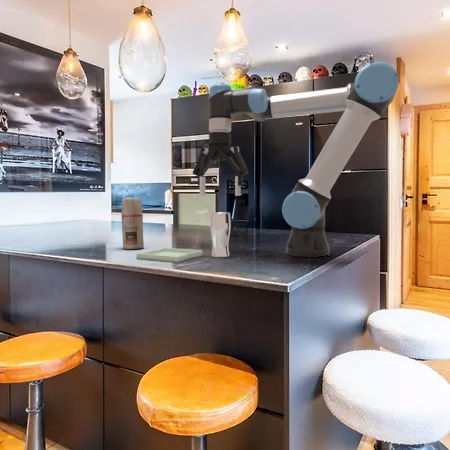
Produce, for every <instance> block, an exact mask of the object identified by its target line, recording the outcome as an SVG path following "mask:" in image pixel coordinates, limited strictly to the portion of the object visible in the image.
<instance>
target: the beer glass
mask: <svg viewBox="0 0 450 450" xmlns="http://www.w3.org/2000/svg"><path fill="white" fill-rule="evenodd" d="M209 223H210V225H209V227H210V233H211V234H210V235H211V241H212V252H211V257H213V258H227V257H230V251H229V240H230V235H231V225H232V224H231V223H232V222H231V213H230V212H227V211H224V212H223V211H220V212H219V211H218V212H216V211H214V212H210V222H209Z"/></svg>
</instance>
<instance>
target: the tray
mask: <svg viewBox="0 0 450 450" xmlns="http://www.w3.org/2000/svg"><path fill="white" fill-rule="evenodd" d="M203 254H204V253H203V250H201V249H190V248H189V249H186V248H174V247H161V248H156V249H151V250H148V251H142V252H138V253H136V260H144V261H153V262H166V263H176V264H178V263H181V261H182V262H184V261H188V260H193V259H195V258H198V257H203Z"/></svg>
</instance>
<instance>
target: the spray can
mask: <svg viewBox="0 0 450 450" xmlns="http://www.w3.org/2000/svg"><path fill="white" fill-rule="evenodd" d="M143 214H144V213H143V204H142V200H141V198H140V197H124V198H122V200H121V233H122V245H123V248H122V249H123V250H137V249H143V248H144V247H145V246H144V226H143V225H144V220H143V219H144V215H143Z"/></svg>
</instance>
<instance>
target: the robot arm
mask: <svg viewBox="0 0 450 450" xmlns="http://www.w3.org/2000/svg"><path fill="white" fill-rule="evenodd" d="M399 83H400V79H399V75H398V73H397V71H396V68H394V67H393V66H392V65H391V64H389V63H387V62H383V61H375V62H371V63H368V64H366V65H365V66H363V67H361V69H360V70H359V71H358V73H357V75H356V76H355V79H354V82H350V83H348V84H347V85H346V86H343V87H336V88H335V87H334V88H327V89H319V90H311V91H302V92H294V93H288V94H287V93H286V94H280V95H279V94H277V95H272V96H268V94H267V91H266V89H264V88H250V89H249V88H248V89H237V90H233V89H232V86H231V85H229V84H226V83H217V84H213V85H211V86H210V87H209V89H208V91H209V92H208V93H209V94H208V131H209V133H208V144H209V145H208V146H209V147H207V148H206V147H201V148H200V154H199V157H198V158H197V161H196V164H195V166H194V168H193V171H192V175H193V176H196V177H197V186H199V196H206V176H205V174H206V173H207V172H208V170H209V169H210V167H211V166H212V165H213V163H215V161H217V162H218V161H225V162H226V161H227V163H228V164H229V166H230V167H231V169H232V170H233V171H234V172H235V173H236V175H235V177H234V179H235V181H234V182H235V184H234V185H235V187H234V189H235V190H234V192H235V193H234V196H236V197H238V196H239V197H241V193H242V190H241V189H242V188H241V187H242V186H243V185H244V176H245V175H248V174H249V173H250V172H249V169H248V167H247V165H246V163H245V160H244V159H243V156H242V154H241V147H240V146H238V145H234V146H232V134H231V131H232V115H238V114H239V115H240V114H243V115H245V114H246V115H248V116H249V117H251V119H253V120H254V121H257V122H264V121H266V120H268V119H274V118H276V119H277V118H285V117H295V116H306V115H315V114H326V113H334V112H335V113H336V112H343V113H342V115H341V117H340V118H339V120H338V122H337V124H336V125H335V126H334V129H333V131H332V133H330V135H329V137H328V139H327V140H326V142H325V144H324V145H323V147H322V149H321V151H320V153H319V154H318V155H317V157H316V160H315V161H314V163H313V165H312V166H311V168H310V169H309V172H308V174H307V175H306V177H304V178H301V179H298V181H297V183H296V184H295V186H294V188H293V189H292V191H291V193H289V194H288V195H287V196H286V197H285V199H284V200H283V203H282V206H281V207H282V208H281V212H282V216H283V218H284V220H285V222H286V223H287V224H288V225H289V226H290V229H291V230H290V235H289V237H288V241H287V244H286V247H285V254H286V255H288V256H291V257H292V256H293V257H298V258H299V257H301V258H320V257H319V256H323V257H327V256H326V255H328V256H330V246H329V243H328V239H327V236H326V229H325V228H326V207H327V206H328V204H329V203H330V200H331V199H332V195H331V190H332V188H333V187H334V185H335V183H336V182H337V179H338V178H339V177H340V175H341V174H342V171H343V170H344V168H345V166H347V163H348V162H349V160H350V159H351V156H352V155H353V153H354V152H355V150H356V149H357V147H358V146H359V144H360V142H361V140H362V138H363V137H364V135H365V134H366V132H367V130H368V129H369V127H370V125H371V123H372V122H374V121H377V120H380V119H381V117H382V116H383V114H384V112H385V110H386V109H387V108H388V107H389V106H390V105H391V104H392V102H393V100H394V98H395V97H396V93H397V91H398V88H399ZM231 153H233V154H234V157H235V159H236V161H237V163H236V162H235V160H234V158H233V157H232V156H231ZM208 154H209V156H207V155H208ZM206 158H207V159H206ZM205 160H206V161H205Z"/></svg>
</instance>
